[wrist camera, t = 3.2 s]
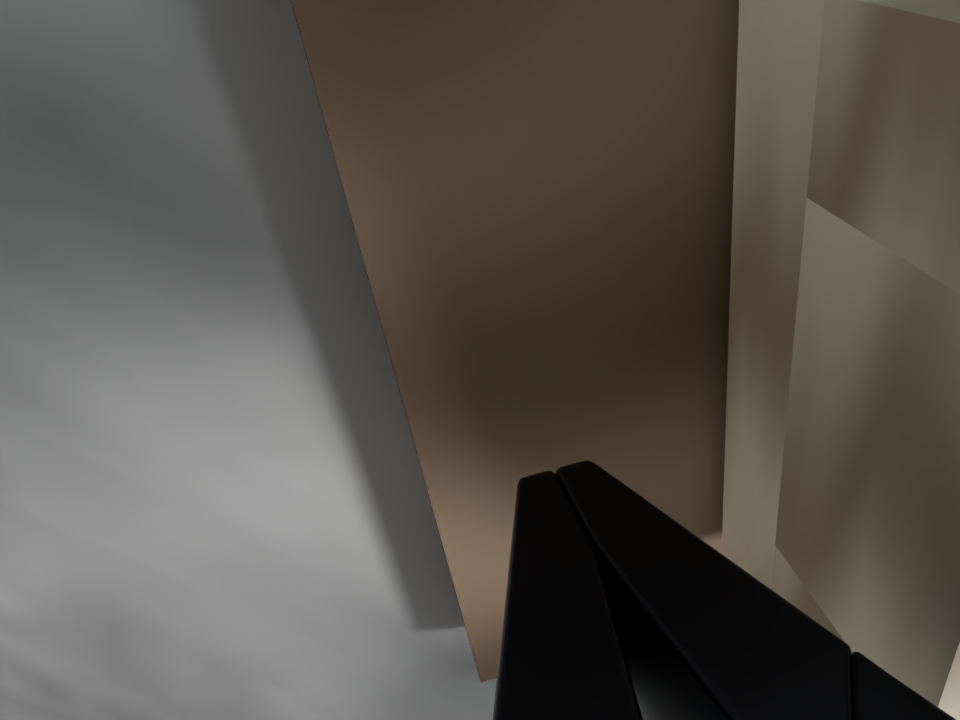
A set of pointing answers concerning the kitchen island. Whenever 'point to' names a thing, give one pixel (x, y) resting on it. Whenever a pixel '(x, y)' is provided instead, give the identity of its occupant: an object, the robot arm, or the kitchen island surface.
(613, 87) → the board
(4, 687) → the kitchen island surface
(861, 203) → the open box
